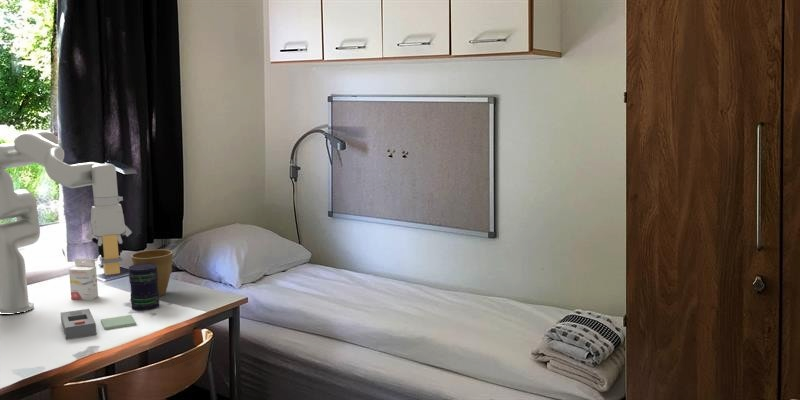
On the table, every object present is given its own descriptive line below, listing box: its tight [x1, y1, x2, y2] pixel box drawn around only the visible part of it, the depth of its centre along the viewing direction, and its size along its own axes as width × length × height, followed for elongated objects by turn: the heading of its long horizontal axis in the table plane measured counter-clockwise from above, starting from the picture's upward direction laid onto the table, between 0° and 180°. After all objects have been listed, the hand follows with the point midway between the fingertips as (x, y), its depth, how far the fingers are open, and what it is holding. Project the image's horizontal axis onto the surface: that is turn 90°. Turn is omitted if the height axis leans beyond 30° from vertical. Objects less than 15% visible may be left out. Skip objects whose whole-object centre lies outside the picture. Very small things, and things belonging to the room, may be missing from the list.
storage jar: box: [128, 263, 161, 312], centre depth 281 cm, size 10×10×15 cm
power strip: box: [60, 308, 97, 340], centre depth 258 cm, size 18×9×5 cm, turn 28°
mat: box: [100, 314, 137, 331], centre depth 264 cm, size 10×10×1 cm
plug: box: [99, 235, 123, 276], centre depth 260 cm, size 6×6×13 cm
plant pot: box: [130, 249, 174, 297], centre depth 297 cm, size 15×15×16 cm
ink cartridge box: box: [68, 258, 99, 301], centre depth 294 cm, size 9×5×15 cm, turn 84°
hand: (110, 255), depth 260 cm, fingers closed on plug, 4 cm apart
